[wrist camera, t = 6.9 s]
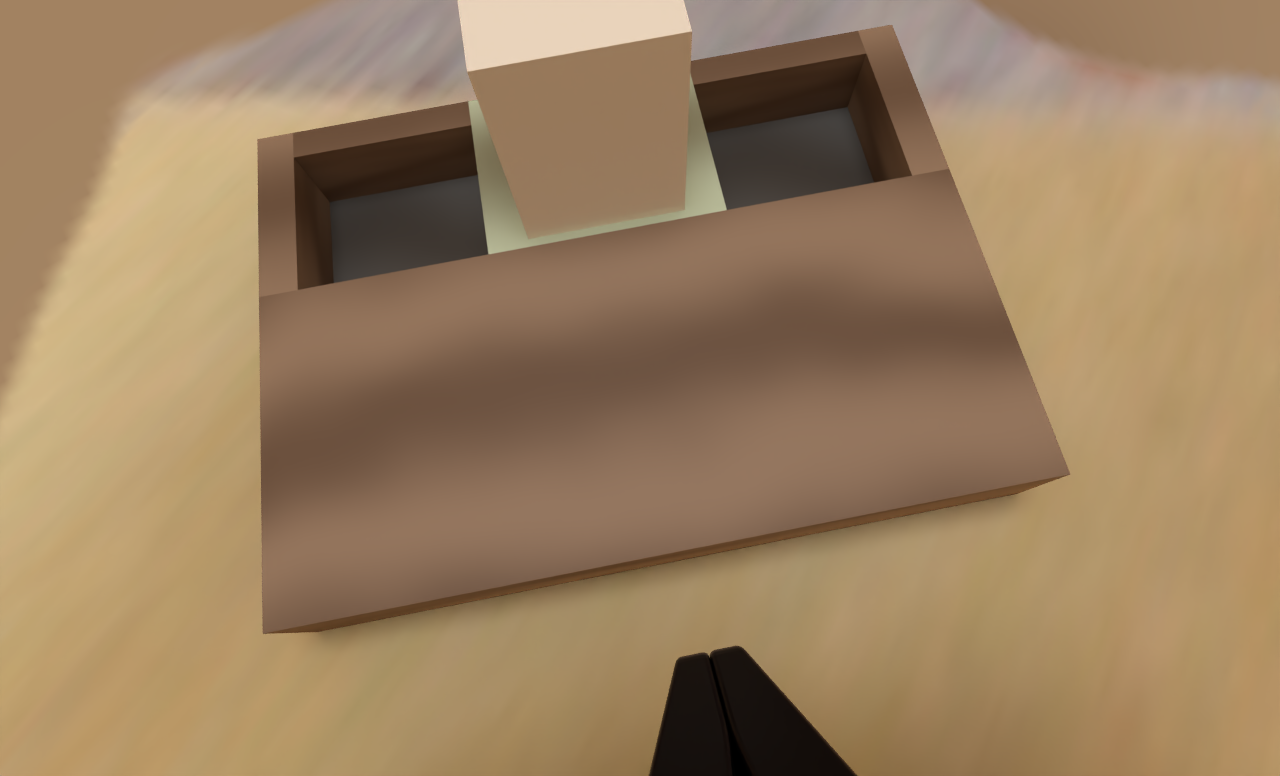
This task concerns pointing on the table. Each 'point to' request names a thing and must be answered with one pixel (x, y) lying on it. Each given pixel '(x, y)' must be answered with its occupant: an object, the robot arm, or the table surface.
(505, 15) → the block
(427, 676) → the table surface
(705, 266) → the brown compartment tray
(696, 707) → the robot arm
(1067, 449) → the table surface
